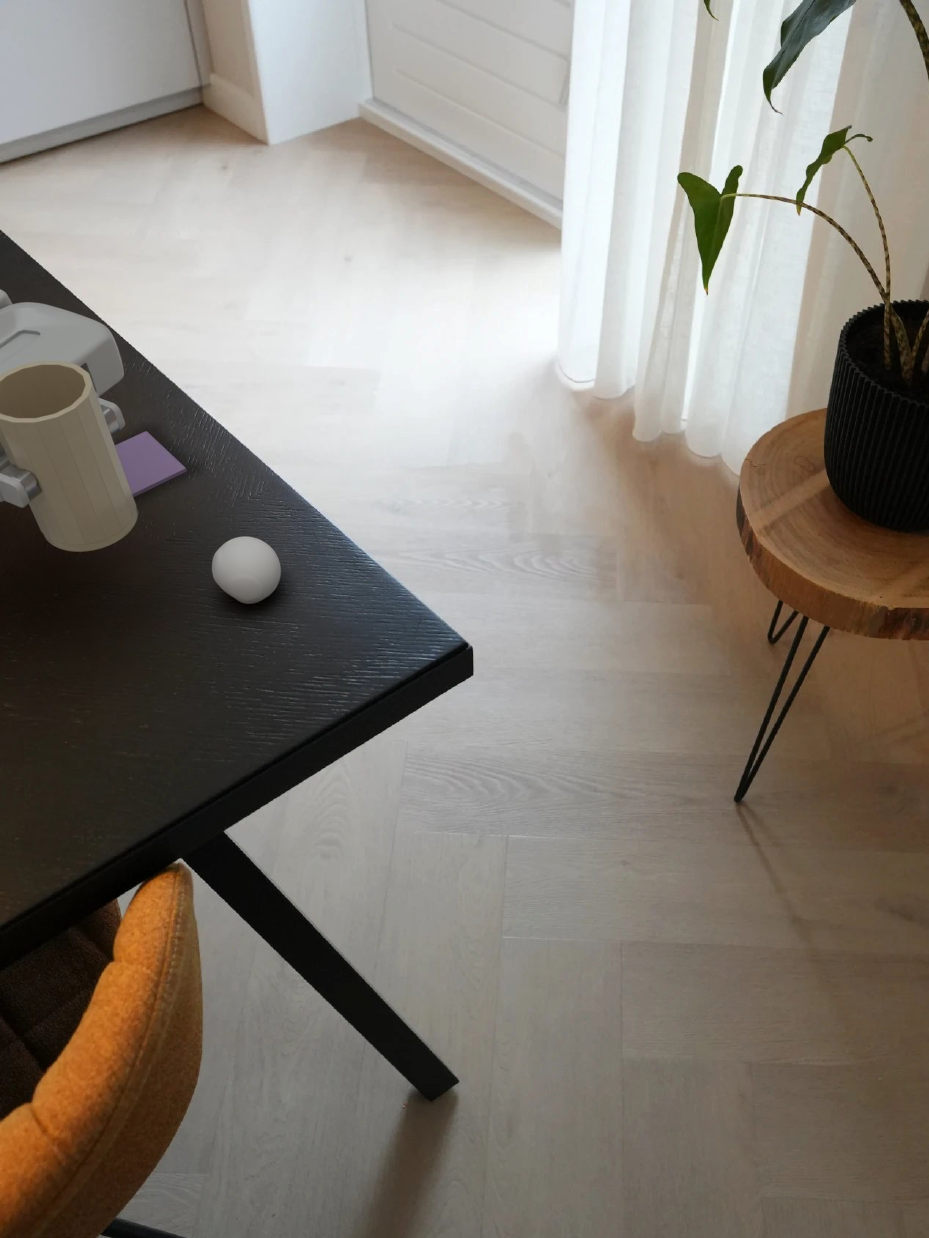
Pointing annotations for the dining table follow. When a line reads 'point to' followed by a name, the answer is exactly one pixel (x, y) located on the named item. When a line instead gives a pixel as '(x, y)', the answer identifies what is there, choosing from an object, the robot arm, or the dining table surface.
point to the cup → (66, 455)
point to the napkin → (147, 463)
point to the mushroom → (246, 569)
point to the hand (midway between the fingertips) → (74, 455)
